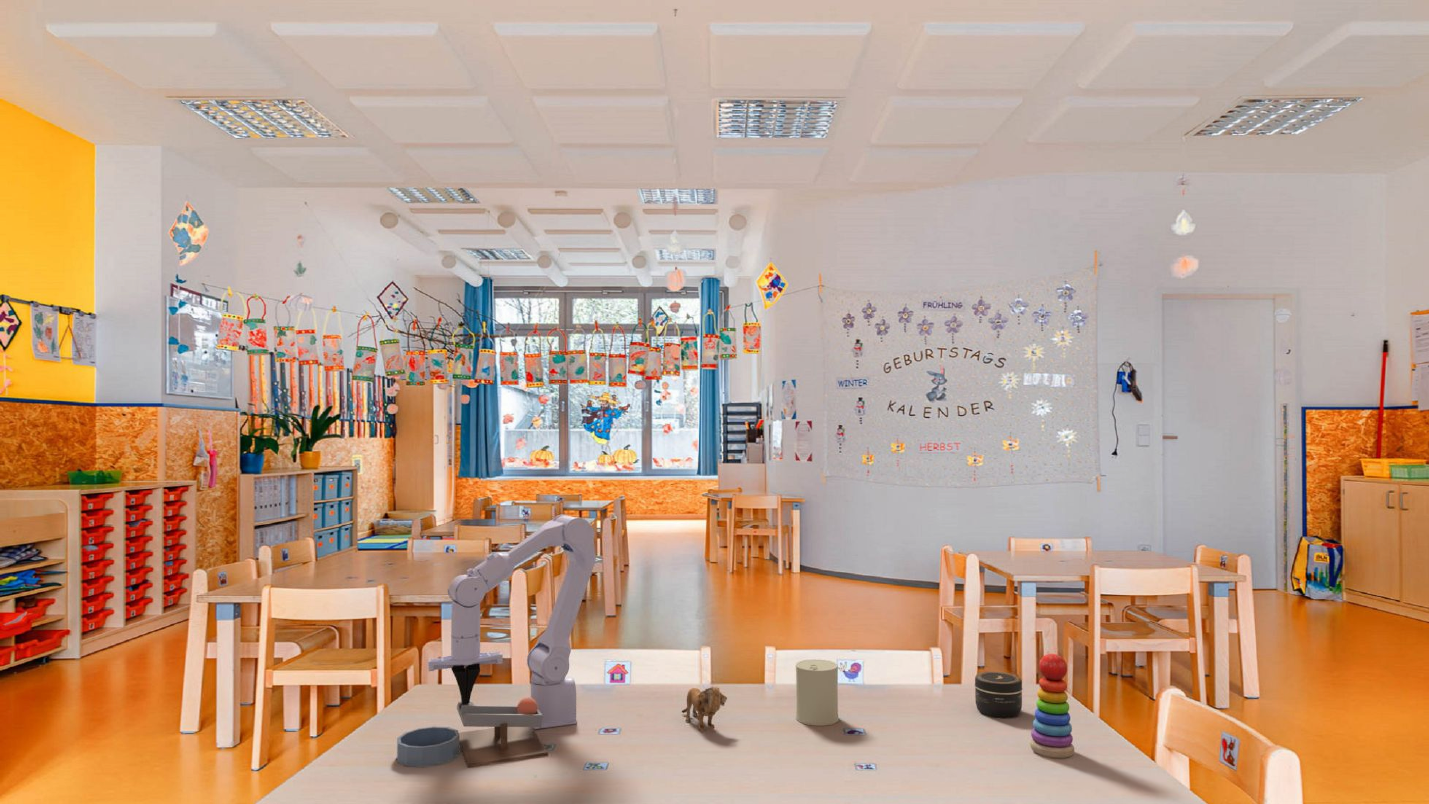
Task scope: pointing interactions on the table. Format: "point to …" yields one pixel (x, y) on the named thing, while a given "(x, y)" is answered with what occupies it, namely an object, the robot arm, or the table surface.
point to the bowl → (427, 746)
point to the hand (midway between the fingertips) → (465, 702)
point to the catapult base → (500, 745)
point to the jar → (998, 694)
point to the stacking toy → (1052, 711)
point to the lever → (496, 716)
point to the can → (817, 692)
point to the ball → (527, 706)
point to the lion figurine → (704, 704)
